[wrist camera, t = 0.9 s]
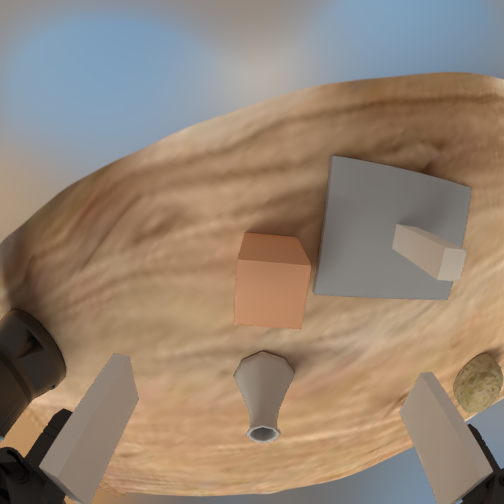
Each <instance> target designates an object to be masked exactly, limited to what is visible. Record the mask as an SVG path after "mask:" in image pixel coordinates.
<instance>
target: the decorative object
mask: <svg viewBox="0 0 504 504" xmlns="http://www.w3.org/2000/svg"><path fill="white" fill-rule="evenodd" d="M502 384H503V375H502V371H501V367H500V366H499V365H498V364H497V363H496V362H495V361H494V359H493V358H492V357H491V356H489V354H487V353H486V354H481V355H479V356H477V357H475V358H473V359H472V360H471V361H470V362H469V363H467V364H466V365H465V366H464V367H463V368H462V370H461V371H460V372H459V374H458V375H457V377H456V379H455V382H454V386H453V389H454V394H455V396H456V399H457V401H458V403H459V404H460V405H461V406H462V408H463V409H464V410H465V411H466V412H468V413H471V412H481V411H482V412H483V411H484V410H485V409H487V408H488V407H490V406H491V405H492V403H494V402H495V400H496V398H497V397H498V396H499V392H500V390H501V387H502Z"/></svg>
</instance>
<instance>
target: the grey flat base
mask: <svg viewBox="0 0 504 504" xmlns="http://www.w3.org/2000/svg"><path fill="white" fill-rule="evenodd" d="M470 197H471V188H470V187H467V186H464V185H461V184H457V183H454V182H451V181H447V180H444V179H440V178H437V177H433V176H429V175H426V174H422V173H418V172H414V171H410V170H406V169H401V168H397V167H393V166H388V165H383V164H378V163H373V162H368V161H363V160H358V159H352V158H346V157H340V156H334V155H332V156H330V165H329V176H328V185H327V195H326V203H325V212H324V219H323V227H322V234H321V242H320V248H319V255H318V262H317V268H316V274H315V280H314V286H313V293H314V295H330V296H347V297H367V298H392V299H427V300H448V297H449V294H450V291H451V287H452V284H453V281H459V280H460V276H461V273H462V269H463V265H464V261H465V257H466V253H467V250H465V249H463V248H462V244H463V239H464V234H465V229H466V224H467V218H468V211H469V204H470Z"/></svg>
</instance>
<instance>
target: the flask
mask: <svg viewBox="0 0 504 504" xmlns="http://www.w3.org/2000/svg"><path fill="white" fill-rule="evenodd" d="M294 374H295V373H294V371H293V370H292V368H291V367H290V366H289V364H288V363H287V361H286V360H285V359H284V358H282V357H279V356H275V355H272V354H269V353H266V352H263V351H262V352H259V353H257V354H255V355H253V356H250V357H248V358H246V359H243V360H241V362H240V364H239V366H238V368H237V370H236V372H235V374H234V375H233V376H234V378H235V381H236V383H237V385H238V387H239V389H240V392H241V394H242V396H243V399H244V401H245V403H246V406H247V408H248V413H249V418H250V428H249V430H248V431H247V433H246V435H247V436H248V437H249V438H250V439H251V440H252V441H256V442H260V443H267V442H271V441H274V440H276V439H277V437H278V436H279V435H280V434H281V432H280V430H279V429H278V428H277V418H278V413H279V409H280V406H281V404H282V401H283V399H284V396H285V394H286V392H287V389H288V387H289V385H290V383H291V381H292V379H293V376H294Z"/></svg>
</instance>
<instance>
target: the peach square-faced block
mask: <svg viewBox="0 0 504 504" xmlns="http://www.w3.org/2000/svg"><path fill="white" fill-rule="evenodd" d="M311 267H312V265H311V263H310V261H309V259H308V257H307V255H306V253H305V251H304V249H303V247H302V245H301V243H300V241H299V239H298V237H290V236H280V235H268V234H257V233H246V232H245V235H244V238H243V242H242V245H241V249H240V252H239V256H238V259H237V273H236V289H235V305H234V321H233V324H241V325H252V326H264V327H277V328H293V329H301V325H302V320H303V314H304V309H305V303H306V297H307V292H308V286H309V279H310V273H311Z"/></svg>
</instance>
